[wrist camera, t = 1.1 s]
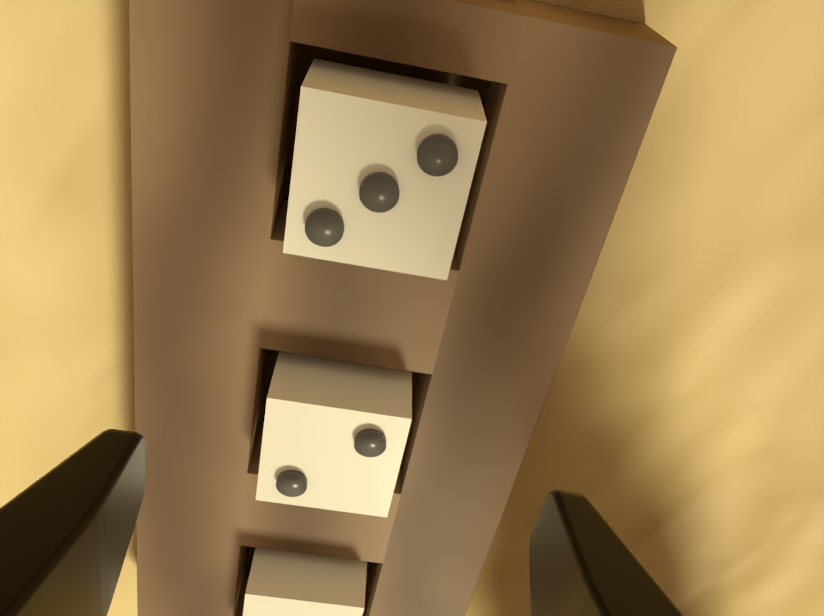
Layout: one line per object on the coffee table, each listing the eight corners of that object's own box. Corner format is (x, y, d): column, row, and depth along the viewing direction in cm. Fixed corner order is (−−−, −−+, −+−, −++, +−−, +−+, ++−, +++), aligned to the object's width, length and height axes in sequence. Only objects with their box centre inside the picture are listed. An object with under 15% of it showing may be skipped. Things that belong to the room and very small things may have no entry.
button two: (412, 366, 22) (412, 423, 20) (389, 461, 24) (386, 522, 22) (280, 346, 22) (265, 402, 19) (269, 444, 24) (254, 505, 22)
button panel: (646, 24, 18) (676, 47, 16) (439, 622, 31) (441, 678, 29) (163, -77, 17) (127, -67, 15) (157, 589, 30) (138, 644, 28)
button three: (478, 90, 18) (487, 124, 15) (443, 236, 20) (447, 284, 17) (314, 58, 17) (299, 88, 15) (296, 210, 19) (281, 257, 17)
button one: (368, 550, 26) (363, 613, 24) (351, 616, 29) (346, 680, 26) (258, 535, 26) (244, 599, 24) (250, 604, 28) (236, 668, 26)
